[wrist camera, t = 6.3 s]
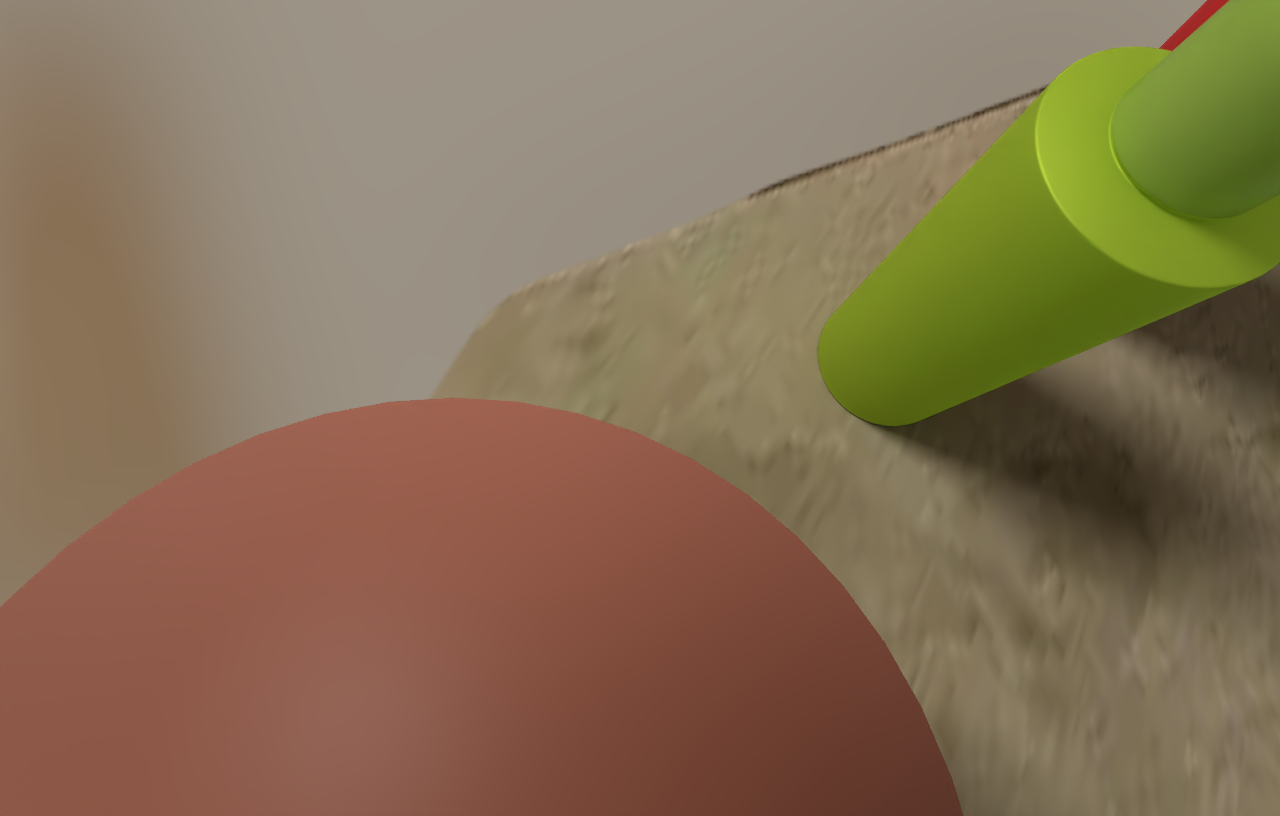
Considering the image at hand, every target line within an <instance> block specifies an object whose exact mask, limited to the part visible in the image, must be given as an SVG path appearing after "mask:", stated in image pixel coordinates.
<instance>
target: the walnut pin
mask: <svg viewBox="0 0 1280 816" xmlns="http://www.w3.org/2000/svg"><path fill="white" fill-rule="evenodd" d="M0 816H963V814H962V810H961V807H960V804H959V801H958V797H957V794H956V791H955V787H954V784H953V781H952V778H951V775H950V773H949V771H948V768H947V766H946V764H945V761H944V759H943V757H942V754H941V752H940V750H939V747H938V745H937V743H936V740H935V738H934V736H933V733H932V731H931V729H930V726H929V724H928V722H927V719H926V717H925V715H924V712H923V710H922V708H921V706H920V704H919V702H918V700H917V699H916V697H915V695H914V693H913V692H912V690H911V688H910V686H909V684H908V683H907V681H906V679H905V677H904V676H903V674H902V672H901V670H900V669H899V667H898V665H897V663H896V662H895V660H894V658H893V656H892V655H891V653H890V651H889V649H888V647H887V646H886V644H885V642H884V641H883V640H882V638H881V637H880V635H879V634H878V633H877V631H876V630H875V629H874V627H873V626H872V625H871V623H870V622H869V620H868V619H867V618H866V616H865V615H864V614H863V612H862V611H861V609H860V608H859V607H858V605H857V604H856V603H855V601H854V600H853V599H852V597H851V596H850V594H849V593H848V592H847V590H846V589H845V588H844V586H843V585H842V584H841V583H840V582H839V581H838V580H837V579H836V578H835V576H834V575H833V574H832V573H831V572H830V571H829V570H828V569H827V568H826V567H825V566H824V565H823V564H822V563H821V561H820V560H819V559H818V558H817V557H816V556H815V555H814V554H813V553H812V552H811V551H810V550H809V549H808V548H807V546H806V545H805V544H804V543H803V542H802V541H801V540H800V539H799V538H798V537H797V536H796V535H795V534H794V533H793V532H791V531H790V530H789V529H788V528H787V527H785V526H784V525H783V524H782V523H781V522H779V521H778V520H777V519H776V518H775V517H773V516H772V515H771V514H770V513H769V512H767V511H766V510H765V509H764V508H763V507H761V506H760V505H759V504H758V503H757V502H755V501H754V500H753V499H752V498H751V497H750V496H748V495H747V494H746V493H744V492H743V491H741V490H740V489H738V488H736V487H735V486H733V485H732V484H730V483H729V482H727V481H726V480H724V479H722V478H721V477H719V476H718V475H716V474H715V473H713V472H712V471H710V470H708V469H707V468H705V467H704V466H702V465H701V464H699V463H698V462H696V461H694V460H693V459H691V458H689V457H687V456H684V455H682V454H680V453H678V452H676V451H674V450H672V449H670V448H668V447H666V446H663V445H661V444H659V443H657V442H655V441H653V440H651V439H649V438H647V437H645V436H642V435H640V434H638V433H636V432H633V431H630V430H627V429H624V428H621V427H618V426H615V425H612V424H608V423H605V422H602V421H599V420H596V419H593V418H590V417H587V416H584V415H581V414H578V413H573V412H568V411H562V410H557V409H552V408H547V407H541V406H536V405H531V404H526V403H520V402H512V401H496V400H480V399H464V398H444V399H428V400H412V401H397V402H387V403H381V404H376V405H370V406H365V407H360V408H355V409H349V410H344V411H339V412H333V413H327V414H323V415H320V416H317V417H313V418H310V419H307V420H304V421H301V422H297V423H294V424H291V425H288V426H285V427H281V428H278V429H275V430H272V431H269V432H265V433H262V434H259V435H257V436H254V437H252V438H250V439H248V440H245V441H243V442H241V443H239V444H236V445H234V446H232V447H230V448H227V449H225V450H223V451H220V452H218V453H216V454H214V455H211V456H209V457H207V458H205V459H202V460H200V461H198V462H196V463H194V464H192V465H190V466H188V467H187V468H185V469H183V470H181V471H180V472H178V473H176V474H175V475H173V476H172V477H169V478H168V479H166V480H164V481H163V482H161V483H159V484H157V485H156V486H154V487H152V488H150V489H149V490H147V491H145V492H144V493H142V494H140V495H138V496H137V497H135V498H133V499H131V500H130V501H128V502H127V503H126V504H124V505H123V506H121V507H120V508H119V509H117V510H116V511H115V512H113V513H112V514H111V515H109V516H108V517H107V518H105V519H104V520H103V521H101V522H100V523H98V524H97V525H96V526H94V527H93V528H91V529H90V530H89V531H87V532H86V533H85V534H83V535H82V536H81V537H79V538H78V539H76V540H75V541H74V542H72V543H71V544H70V545H68V546H67V547H66V548H65V549H64V550H62V551H61V552H60V553H59V554H58V555H57V556H56V557H55V558H54V559H52V560H51V562H49V563H48V564H47V565H46V566H45V567H44V568H43V569H41V570H40V571H39V572H38V573H37V574H36V575H35V576H34V577H33V578H32V579H30V580H29V581H28V582H27V583H26V584H25V585H24V586H23V587H22V588H20V589H19V590H18V591H17V592H16V593H15V594H14V595H13V596H12V597H11V598H10V599H8V600H7V601H6V602H5V603H4V604H3V605H2V606H1V608H0Z"/></svg>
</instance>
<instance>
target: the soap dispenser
mask: <svg viewBox="0 0 1280 816" xmlns="http://www.w3.org/2000/svg"><path fill="white" fill-rule="evenodd" d="M1279 262H1280V0H1229V1H1228V2H1227V3H1226V4H1225V5H1224V6H1222V7H1221V8H1220V9H1219V10H1218V11H1217V12H1216V13H1215V14H1213V15H1212V16H1211V17H1210V18H1209V19H1208V20H1207V21H1206V22H1204V23H1203V24H1202V25H1201V26H1200V27H1199V28H1198V29H1197V30H1195V31H1194V32H1193V33H1192V34H1191V35H1190V36H1189V37H1188V38H1186V39H1185V40H1184V41H1183V42H1182V43H1181V44H1180V45H1179V46H1177V47H1176V48H1175V49H1174V50H1173V51H1169V50H1164V49H1159V48H1150V47H1121V48H1113V49H1108V50H1104V51H1100V52H1097V53H1094V54H1091V55H1089V56H1086V57H1084V58H1082V59H1080V60H1079V61H1077V62H1075V63H1073V64H1072V65H1070V66H1069V67H1068V68H1066V69H1065V70H1064V71H1063V72H1062V73H1061V74H1059V75H1058V76H1057V77H1056V78H1055V79H1054V80H1053V81H1052V82H1051V84H1050V85H1049V86H1048V87H1047V88H1046V89H1045V90H1044V91H1043V92H1042V93H1041V94H1040V95H1039V96H1038V97H1037V98H1036V99H1035V100H1034V102H1033V103H1032V104H1031V105H1030V106H1029V107H1028V108H1027V109H1026V110H1025V111H1024V112H1023V113H1022V114H1021V115H1020V116H1019V117H1018V118H1017V120H1016V121H1015V122H1014V123H1013V124H1012V125H1011V126H1010V127H1009V128H1008V129H1007V130H1006V131H1005V132H1004V133H1003V134H1002V135H1001V136H1000V138H999V139H998V140H997V141H996V142H995V143H994V144H993V145H992V146H991V147H990V148H989V149H988V150H987V151H986V152H985V153H984V154H983V156H982V157H981V158H980V159H979V160H978V161H977V162H976V163H975V164H974V165H973V166H972V167H971V168H970V169H969V170H968V171H967V173H966V174H965V175H964V176H963V177H962V178H961V179H960V180H959V181H958V182H957V183H956V184H955V185H954V186H953V187H952V188H951V189H950V191H949V192H948V193H947V194H946V195H945V196H944V197H943V198H942V199H941V200H940V201H939V202H938V203H937V204H936V205H935V206H934V207H933V209H932V210H931V211H930V212H929V213H928V214H927V215H926V216H925V217H924V218H923V219H922V220H921V221H920V222H919V223H918V224H917V225H916V227H915V228H914V229H913V230H912V231H911V232H910V233H909V234H908V235H907V236H906V237H905V238H904V239H903V240H902V241H901V242H900V243H899V245H898V246H897V247H896V248H895V249H894V250H893V251H892V252H891V253H890V254H889V255H888V256H887V257H886V258H885V259H884V260H883V262H882V263H881V264H880V265H879V266H878V267H877V268H876V269H875V270H874V271H873V272H872V273H871V274H870V275H869V276H868V277H867V278H866V280H865V281H864V282H863V283H862V284H861V285H860V286H859V287H858V288H857V289H856V290H855V291H854V292H853V293H852V294H851V295H850V296H849V298H848V299H847V300H846V301H845V302H844V303H843V304H842V305H841V306H840V307H839V308H838V309H837V310H836V311H835V312H834V313H833V315H832V316H831V317H830V318H829V320H828V321H827V323H826V324H825V326H824V328H823V330H822V333H821V336H820V339H819V345H818V362H819V367H820V371H821V374H822V377H823V380H824V382H825V384H826V386H827V388H828V389H829V391H830V392H831V394H832V395H833V396H834V398H835V399H836V400H837V401H838V402H839V403H840V404H841V405H842V406H843V407H844V408H845V409H847V410H848V411H849V412H851V413H852V414H854V415H855V416H857V417H859V418H861V419H863V420H865V421H868V422H871V423H874V424H878V425H884V426H903V425H908V424H912V423H915V422H918V421H920V420H923V419H925V418H927V417H930V416H932V415H935V414H937V413H939V412H942V411H944V410H946V409H949V408H951V407H953V406H956V405H958V404H961V403H963V402H965V401H968V400H970V399H972V398H975V397H977V396H979V395H982V394H984V393H986V392H989V391H991V390H994V389H996V388H998V387H1001V386H1003V385H1005V384H1008V383H1010V382H1012V381H1015V380H1017V379H1020V378H1022V377H1024V376H1027V375H1029V374H1031V373H1034V372H1036V371H1038V370H1041V369H1043V368H1046V367H1048V366H1050V365H1053V364H1055V363H1057V362H1060V361H1062V360H1064V359H1067V358H1069V357H1072V356H1074V355H1076V354H1079V353H1081V352H1083V351H1086V350H1088V349H1090V348H1093V347H1095V346H1098V345H1100V344H1102V343H1105V342H1107V341H1109V340H1112V339H1114V338H1116V337H1119V336H1121V335H1124V334H1126V333H1128V332H1131V331H1133V330H1135V329H1138V328H1140V327H1142V326H1145V325H1147V324H1150V323H1152V322H1154V321H1157V320H1159V319H1161V318H1164V317H1166V316H1168V315H1171V314H1173V313H1176V312H1178V311H1180V310H1183V309H1185V308H1187V307H1190V306H1192V305H1194V304H1197V303H1199V302H1202V301H1204V300H1206V299H1209V298H1211V297H1213V296H1216V295H1218V294H1220V293H1223V292H1225V291H1228V290H1230V289H1232V288H1235V287H1237V286H1239V285H1242V284H1244V283H1246V282H1249V281H1251V280H1253V279H1255V278H1257V277H1259V276H1261V275H1263V274H1265V273H1266V272H1268V271H1269V270H1271V269H1272V268H1273V267H1275V266H1276V265H1277V264H1278V263H1279Z"/></svg>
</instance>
